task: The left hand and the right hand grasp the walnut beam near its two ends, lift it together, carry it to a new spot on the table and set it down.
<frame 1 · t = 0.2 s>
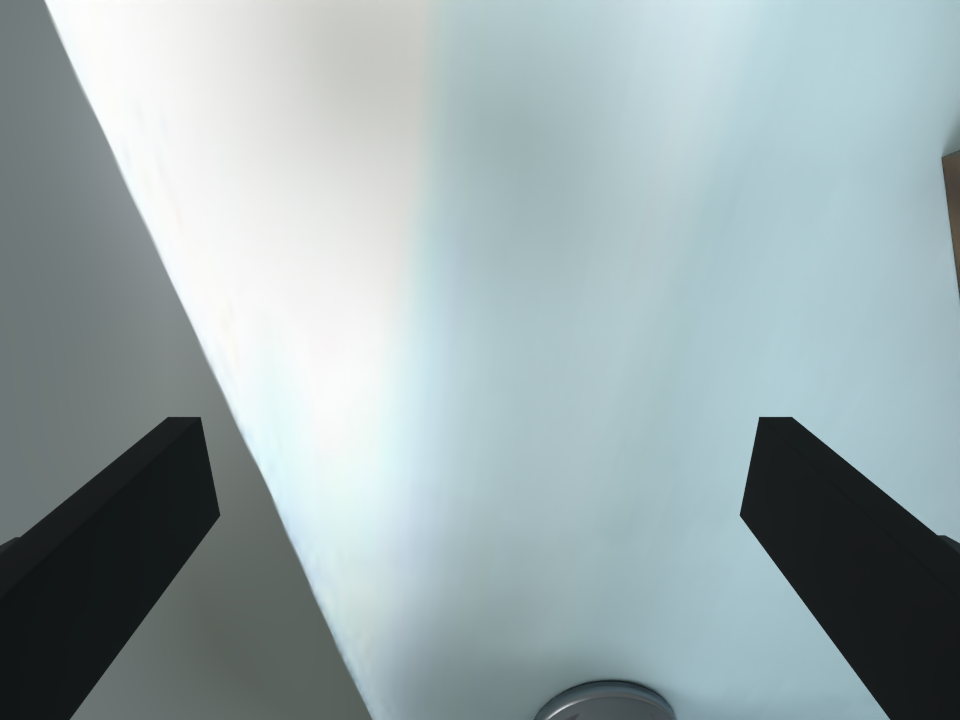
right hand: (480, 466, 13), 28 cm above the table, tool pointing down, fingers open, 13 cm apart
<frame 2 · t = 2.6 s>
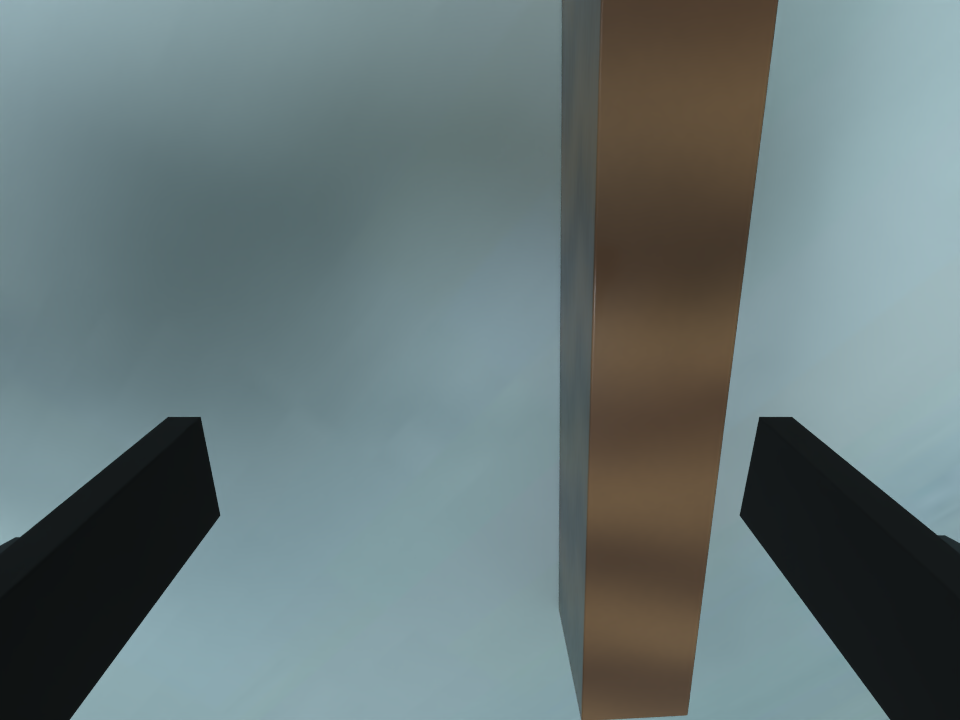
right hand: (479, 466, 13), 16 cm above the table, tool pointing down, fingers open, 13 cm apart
beam: (625, 35, 24), on the table
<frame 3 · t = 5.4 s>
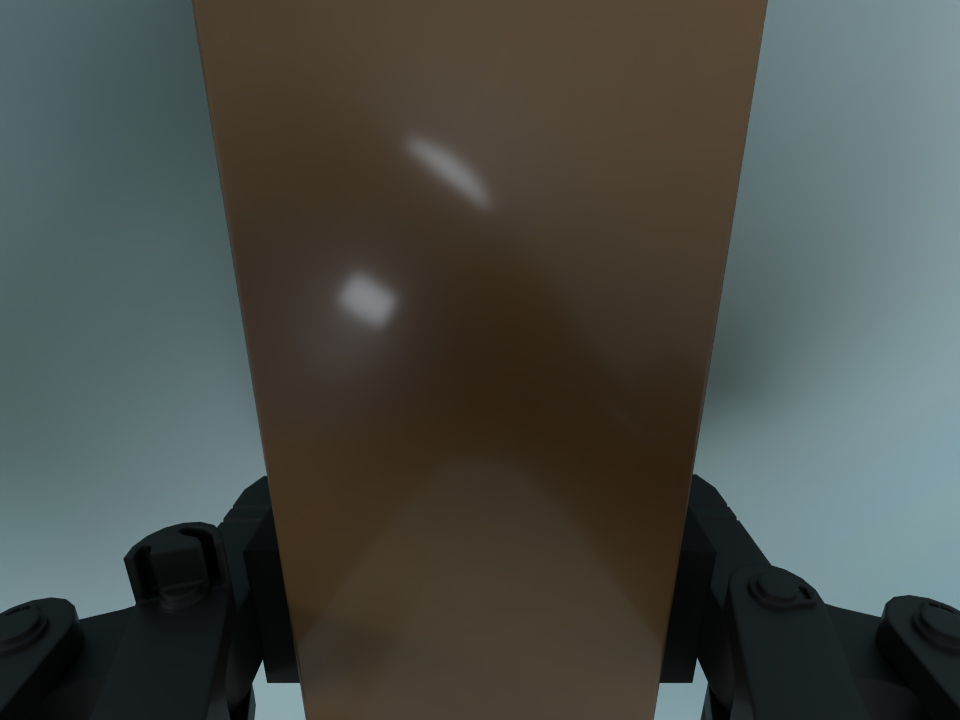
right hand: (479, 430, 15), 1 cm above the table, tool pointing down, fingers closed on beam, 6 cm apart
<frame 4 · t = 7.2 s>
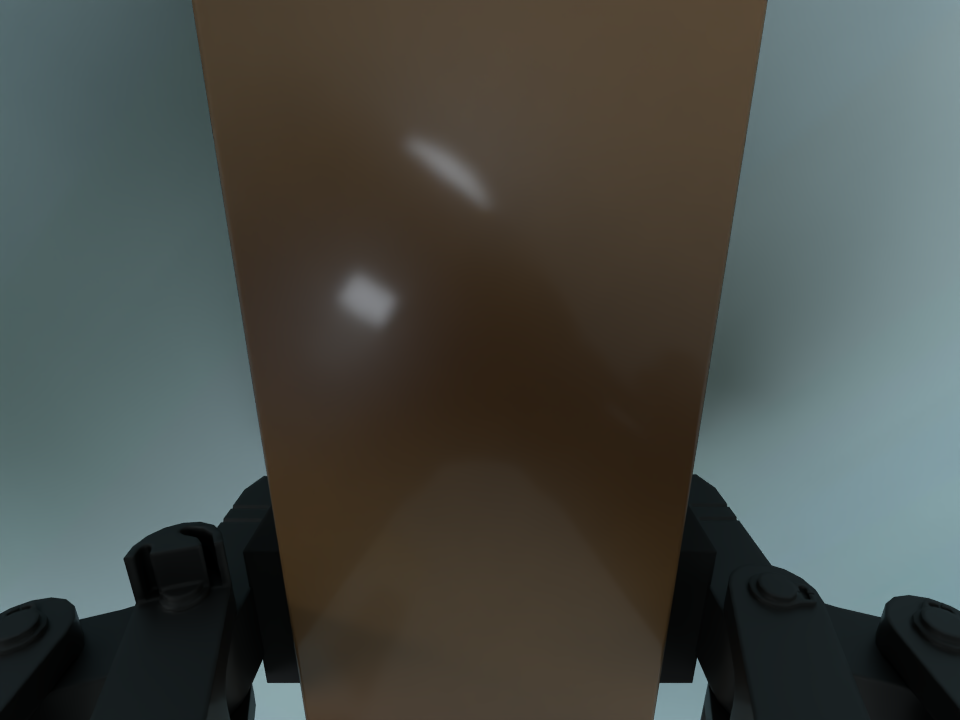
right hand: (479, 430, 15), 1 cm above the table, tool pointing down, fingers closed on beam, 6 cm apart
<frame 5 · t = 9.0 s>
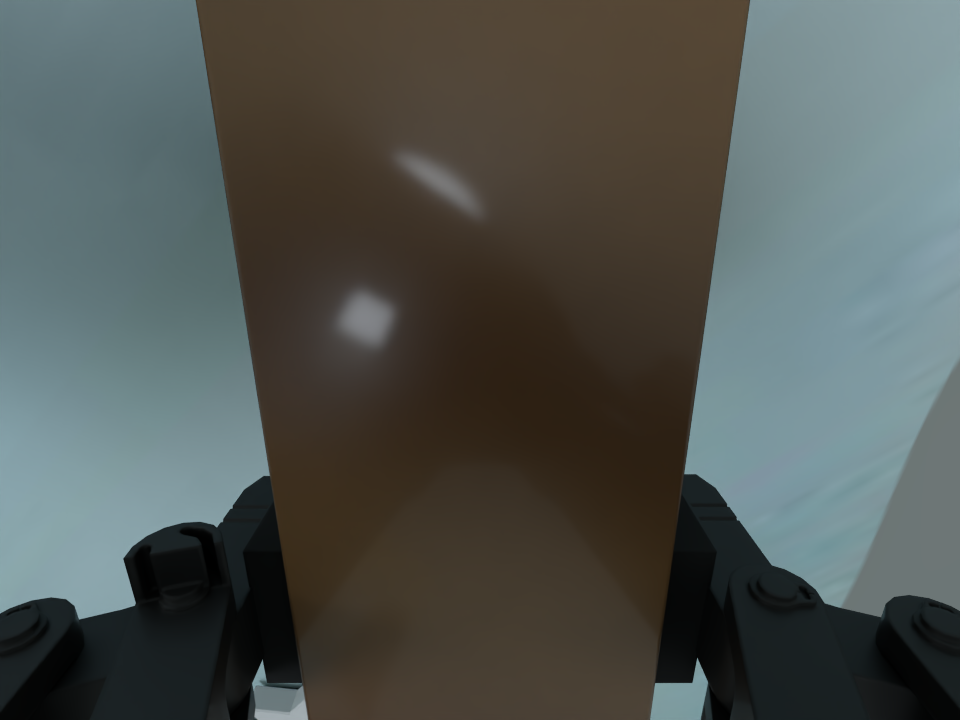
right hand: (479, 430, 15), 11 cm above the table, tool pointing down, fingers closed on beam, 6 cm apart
when the right hand's fingers open (2 cm above the table, at t = 12.6 s): beam stays where it is, on the table.
when the left hand's fingers open (3 cm above the table, at t = 12.7 s): beam stays where it is, on the table.
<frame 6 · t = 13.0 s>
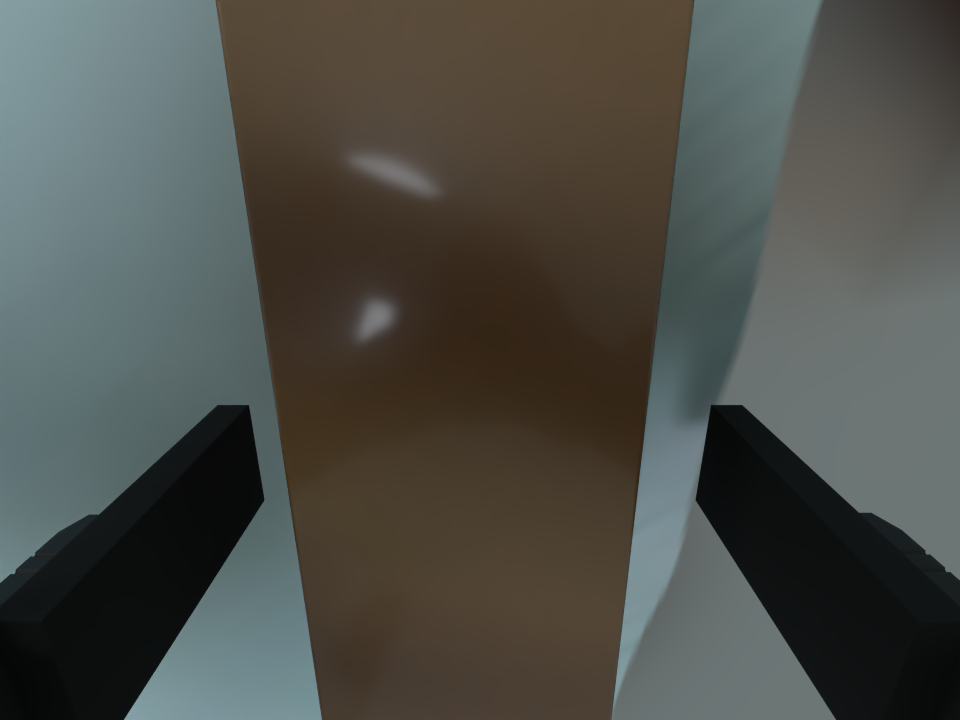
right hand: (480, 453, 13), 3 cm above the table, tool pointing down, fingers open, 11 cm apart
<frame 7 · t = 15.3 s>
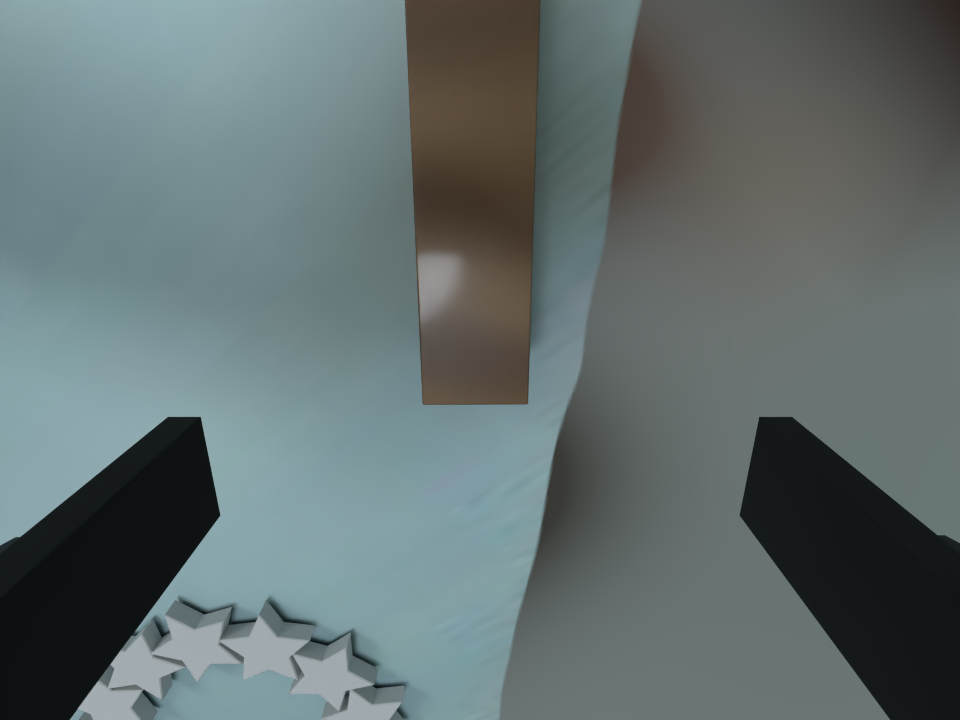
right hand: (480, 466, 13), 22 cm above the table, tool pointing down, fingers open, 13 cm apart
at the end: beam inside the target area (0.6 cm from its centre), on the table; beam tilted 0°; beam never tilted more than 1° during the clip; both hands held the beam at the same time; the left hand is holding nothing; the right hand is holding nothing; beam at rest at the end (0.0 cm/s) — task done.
